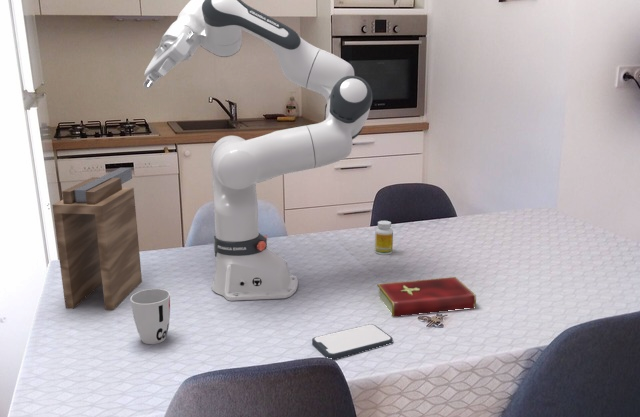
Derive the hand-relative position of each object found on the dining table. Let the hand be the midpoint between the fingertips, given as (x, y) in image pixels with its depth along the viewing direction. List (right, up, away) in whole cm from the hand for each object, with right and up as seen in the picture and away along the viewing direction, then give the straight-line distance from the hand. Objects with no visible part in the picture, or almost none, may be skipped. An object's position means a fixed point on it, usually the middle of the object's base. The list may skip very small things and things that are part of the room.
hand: (152, 81), depth 150 cm
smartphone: (+49, -62, -23) cm, 82 cm away
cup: (+6, -61, -21) cm, 65 cm away
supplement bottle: (+62, -46, +31) cm, 83 cm away
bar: (-12, -27, 0) cm, 30 cm away
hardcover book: (+68, -56, -4) cm, 89 cm away
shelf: (-12, -54, +2) cm, 56 cm away
